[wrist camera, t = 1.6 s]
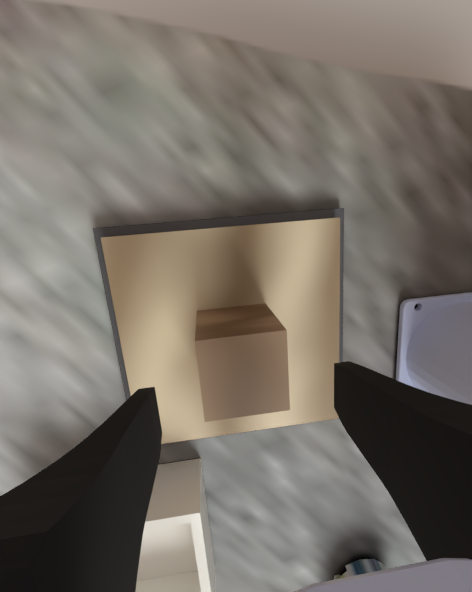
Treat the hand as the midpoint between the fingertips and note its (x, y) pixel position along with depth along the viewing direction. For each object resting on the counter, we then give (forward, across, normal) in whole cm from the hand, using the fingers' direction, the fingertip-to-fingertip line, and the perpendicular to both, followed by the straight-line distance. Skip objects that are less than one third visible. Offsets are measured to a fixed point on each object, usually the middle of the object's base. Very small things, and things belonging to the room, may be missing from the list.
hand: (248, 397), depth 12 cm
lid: (+7, 0, 0) cm, 7 cm away
